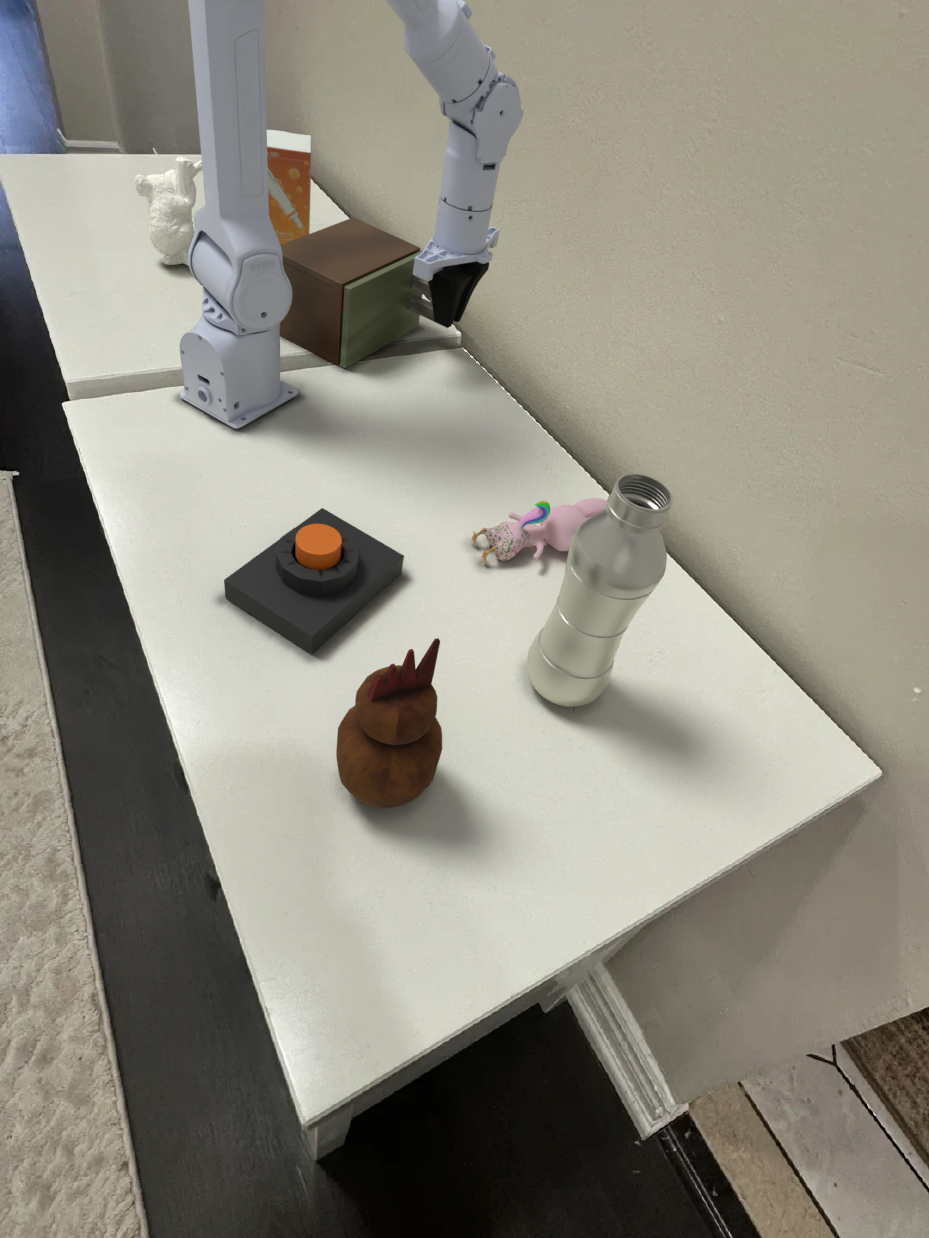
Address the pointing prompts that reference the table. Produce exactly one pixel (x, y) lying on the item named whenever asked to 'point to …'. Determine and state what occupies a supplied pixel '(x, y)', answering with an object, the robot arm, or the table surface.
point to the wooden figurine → (392, 734)
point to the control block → (313, 584)
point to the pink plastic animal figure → (539, 528)
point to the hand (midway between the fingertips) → (447, 321)
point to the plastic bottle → (601, 591)
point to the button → (318, 546)
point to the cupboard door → (382, 309)
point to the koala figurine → (171, 209)
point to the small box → (289, 184)
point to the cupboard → (332, 279)
